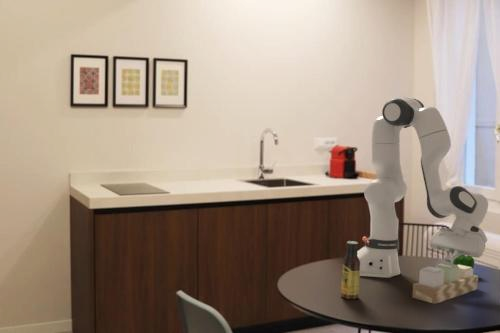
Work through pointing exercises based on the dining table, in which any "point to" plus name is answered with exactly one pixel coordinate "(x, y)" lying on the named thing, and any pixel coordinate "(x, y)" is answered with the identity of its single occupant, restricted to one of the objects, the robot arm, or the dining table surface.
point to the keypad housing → (445, 290)
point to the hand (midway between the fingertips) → (447, 260)
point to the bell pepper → (464, 261)
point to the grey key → (431, 277)
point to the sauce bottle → (350, 272)
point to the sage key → (449, 272)
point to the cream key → (465, 271)
